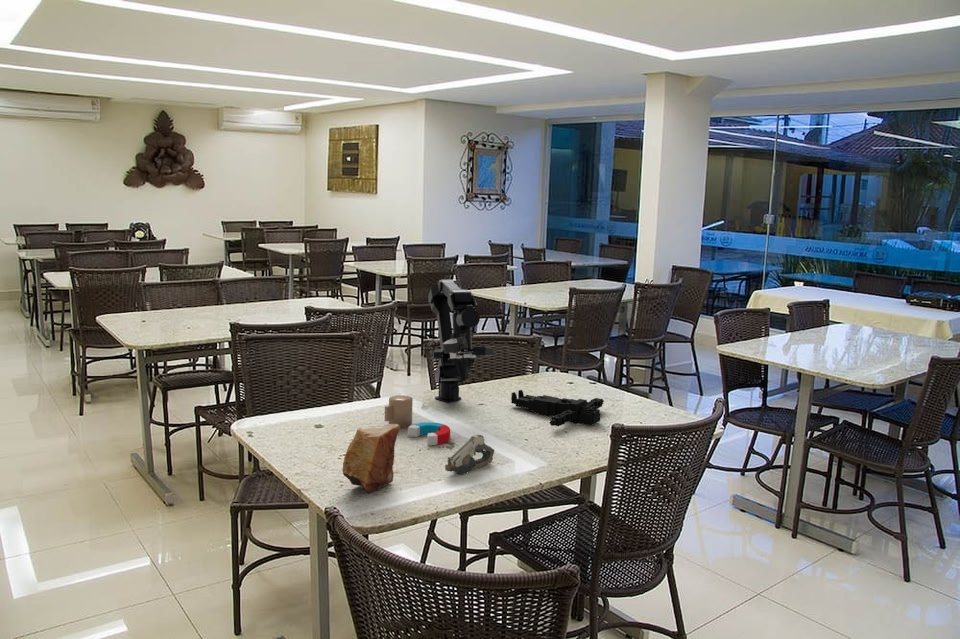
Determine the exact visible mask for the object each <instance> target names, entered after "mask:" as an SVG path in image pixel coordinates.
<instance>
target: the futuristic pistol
mask: <svg viewBox="0 0 960 639" xmlns="http://www.w3.org/2000/svg"><path fill="white" fill-rule="evenodd" d="M485 441H486V440H485V437H484V435H482V434H475V433H474V434H473V435H472V436H470V438H469V440H467V441H466V442H464V444H463V445H461V446H460V447H459V448H458V449H457V450H456V451H455V452H454V453H453V454H452V455H451V456H447V460H446V461H447V464H445V466H444V467H445V468H444V469H445V471H446V472H453V473H455V474H458V475H465V474H468V473H471V472H472V471H473V469H474V468H476V469H480V467H481V468H483V467H485V466H488V465H489V464H491V463H492V462H493V461H494V460H493V459H494V458H493V457H494V454H495V449H494V448H492V447H491V446H490V445H487V444H486V442H485ZM476 453H478V454H479V453H480V454H482V456H481V457H480V458H478V459H475V458H474V456H476ZM467 472H468V473H467Z"/></svg>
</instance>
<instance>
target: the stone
mask: <svg viewBox="0 0 960 639" xmlns="http://www.w3.org/2000/svg"><path fill="white" fill-rule="evenodd" d="M400 431H401V428H400V426H399V425H398V424H389V423H388V424H383V425H381V427H365V428H364V429H363V428H362V427H358V428H357V430H356V433H355V434H354V436H353V439H352V440H351V442H350V443H349V445H348V446H347V450H346V451H345V454H344V458H343V463H342V474H343V476H344V477H345V478H347V480H349V482H350V484H351V485H352V486H359V487H361V489H362V490H364V491H366V492H367V493H368V492H372V491H375V490H377V491H378V490H380V489H382V488H383V487H385V486H386V485H390V484H391V483H393V481H394V478H395V477H394V463H395V446H396V442H397V438H398V435H399V432H400Z"/></svg>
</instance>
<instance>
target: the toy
mask: <svg viewBox="0 0 960 639" xmlns="http://www.w3.org/2000/svg"><path fill="white" fill-rule="evenodd" d="M517 394H518V395H517ZM510 398H511V400H510V402H511V404H514V405H515V407H519V408H523V409H527V410H528V411H531V412H533V414H537V415H539V416H543V417H550V416H551V419H550V421H549V425H550V426H551V427H553V426H554V427H560V426H563V425H565V424H566V423H567V422H568V423H570V424H575V425H578V424H581V425H586V426H593V425H596V424H597V423H600V422H601V416H602V415H601V414H602V413H601V409H599V408H602V407H603V405H604V402H605V400H604V399H603V398H597V397H595V398H593V399H590V400H589V401H588V400H587V399H583V398H578V399H573V398H571V399H570V398H566V397H563V398H559V397H557V396H550V395H546V394H544V395H537V396H536V395H532V394H531V395H529V394H524V391H523V389H519V390H518V392H517V393H516V392H511V397H510Z"/></svg>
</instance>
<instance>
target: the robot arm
mask: <svg viewBox="0 0 960 639" xmlns="http://www.w3.org/2000/svg"><path fill="white" fill-rule="evenodd" d="M427 296H428V297H427V298H428V300H427V301H428V304H429V305H430V310H431V312H432V313H433V314H434V315H435V316H436V321H437V329H438V337H439V343H440V349H434V351H433V353H432V358H433V359H439V361H438V363H437V364H438V365H437V367H436V370H435V372H434V380H435V382H437V384H438V395H437V396H435V397H434V399H437V400H438V401H439V400H440V401H443V402H445V403H451V402H455V401H459V400H462V397H461V396H460V386H459V383H463V382H465V381H466V380H467V378H468V376H469V374H470V370H471V369H472V367H473V364H474V363H475V360H478V357H479V356H484V357H492V356H494V349H493V348H492V346H486V345H485V346H484V345H483V346H472V345H473V344H472V342H473V341H472V337H474V333H473V332H472V328H474V327H477V325H478V324H479V323H480V321H481V320H480V319H481V316H480V314H479V312H478V311H477V310H478V303H477V301H476V298H475V296H474V294H473V293H472V291H471V290H469V289H462V288H460V287H459V286H458V285H457V284H456V283H455V280H453V279H440V280H438V282H437V284H435V285H434V286H433V287H431V288H430V290H429V293H428V295H427ZM451 312H453V313H452V316H451ZM451 319H452V320H451Z"/></svg>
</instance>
